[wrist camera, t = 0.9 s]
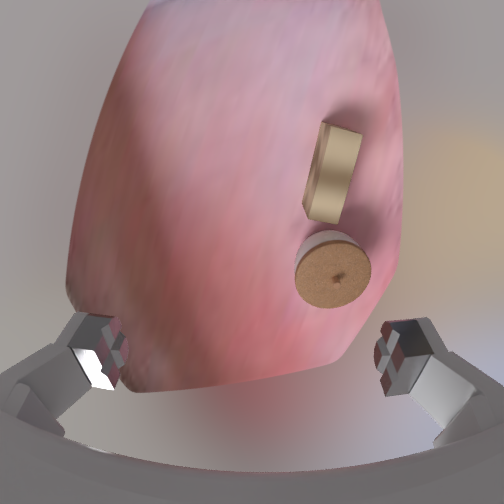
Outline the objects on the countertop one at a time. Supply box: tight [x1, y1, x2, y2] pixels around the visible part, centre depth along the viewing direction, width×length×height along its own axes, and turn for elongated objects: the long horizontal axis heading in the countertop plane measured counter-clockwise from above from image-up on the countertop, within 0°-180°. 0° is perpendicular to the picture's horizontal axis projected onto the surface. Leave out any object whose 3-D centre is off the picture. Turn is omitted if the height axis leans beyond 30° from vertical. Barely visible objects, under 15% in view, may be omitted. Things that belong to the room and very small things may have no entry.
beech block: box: [302, 122, 363, 225], centre depth 37 cm, size 12×4×6 cm, turn 170°
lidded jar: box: [294, 230, 371, 308], centre depth 42 cm, size 11×11×9 cm
